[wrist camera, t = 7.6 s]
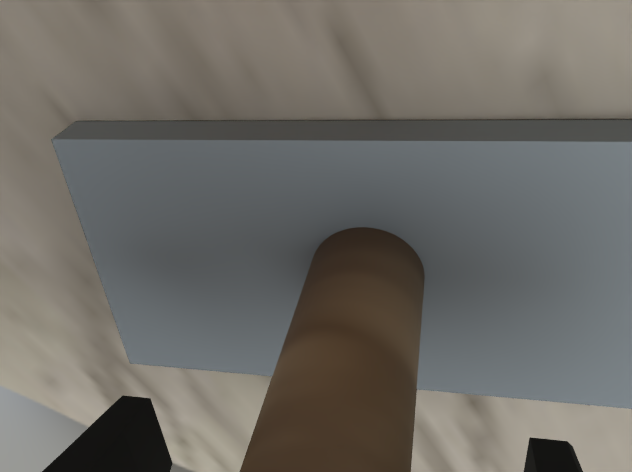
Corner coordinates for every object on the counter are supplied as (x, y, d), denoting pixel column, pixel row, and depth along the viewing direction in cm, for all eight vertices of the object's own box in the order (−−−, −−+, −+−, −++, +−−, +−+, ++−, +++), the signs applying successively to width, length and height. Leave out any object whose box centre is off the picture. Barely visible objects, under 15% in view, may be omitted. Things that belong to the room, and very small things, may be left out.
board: (145, 338, 21) (129, 363, 20) (75, 121, 16) (51, 139, 15) (650, 379, 17) (661, 411, 16) (732, 119, 13) (755, 142, 12)
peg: (317, 315, 17) (228, 618, 10) (305, 225, 15) (192, 518, 9) (424, 321, 16) (402, 649, 10) (424, 228, 14) (399, 548, 8)
